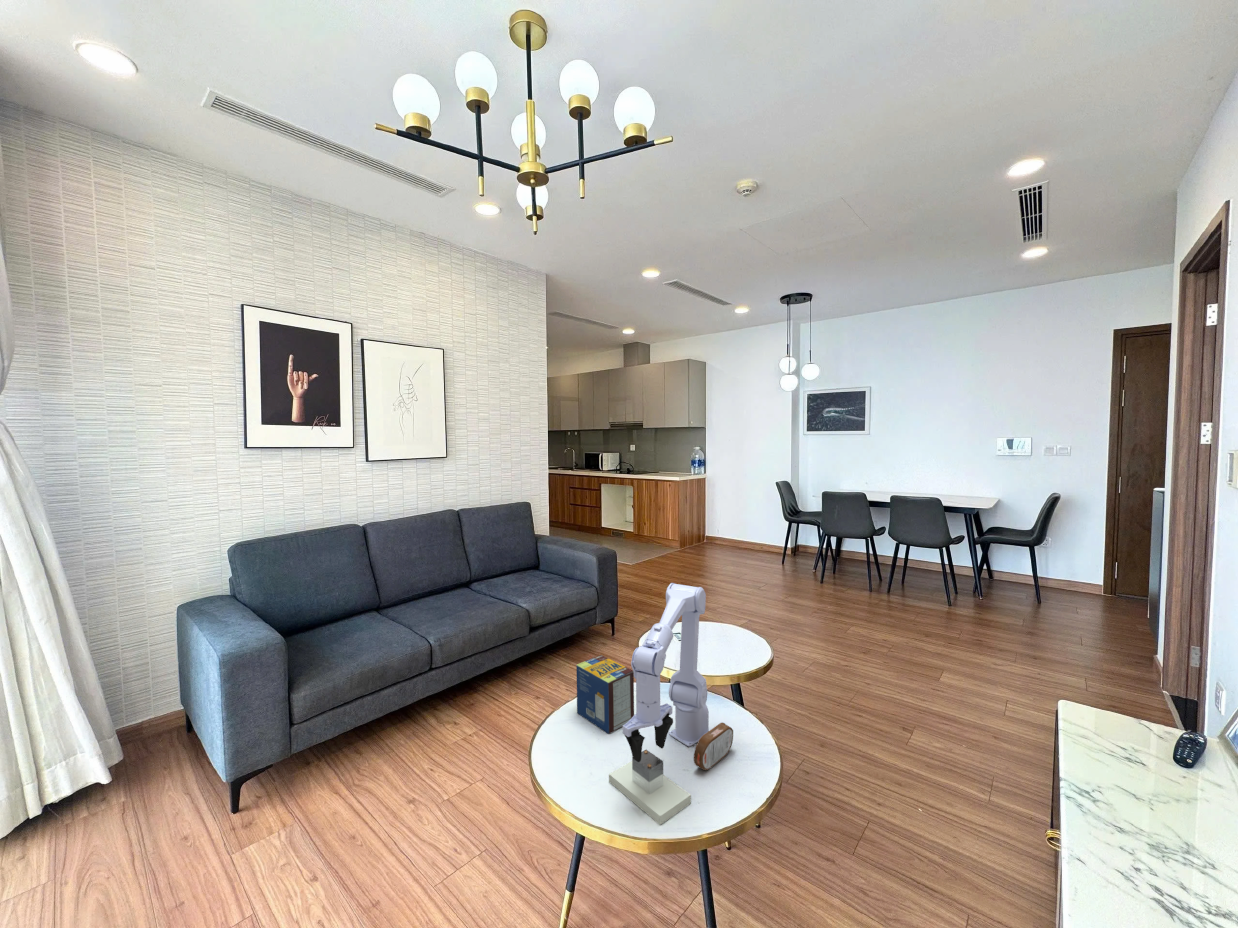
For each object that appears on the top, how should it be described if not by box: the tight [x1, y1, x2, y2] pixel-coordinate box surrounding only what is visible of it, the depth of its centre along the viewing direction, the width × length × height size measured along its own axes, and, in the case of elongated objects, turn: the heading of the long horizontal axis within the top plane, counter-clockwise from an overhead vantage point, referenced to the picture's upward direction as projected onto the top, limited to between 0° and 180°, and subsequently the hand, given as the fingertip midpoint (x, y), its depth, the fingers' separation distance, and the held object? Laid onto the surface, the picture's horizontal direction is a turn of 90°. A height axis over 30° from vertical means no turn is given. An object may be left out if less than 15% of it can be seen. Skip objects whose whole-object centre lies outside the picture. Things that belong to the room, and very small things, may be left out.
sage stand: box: [608, 760, 692, 825], centre depth 119 cm, size 10×18×2 cm, turn 40°
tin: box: [693, 722, 734, 771], centre depth 130 cm, size 15×3×8 cm, turn 135°
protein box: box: [576, 654, 635, 735], centre depth 151 cm, size 10×15×16 cm
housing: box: [631, 749, 664, 795], centre depth 119 cm, size 5×6×6 cm
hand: (648, 752), depth 119 cm, fingers open, 7 cm apart
